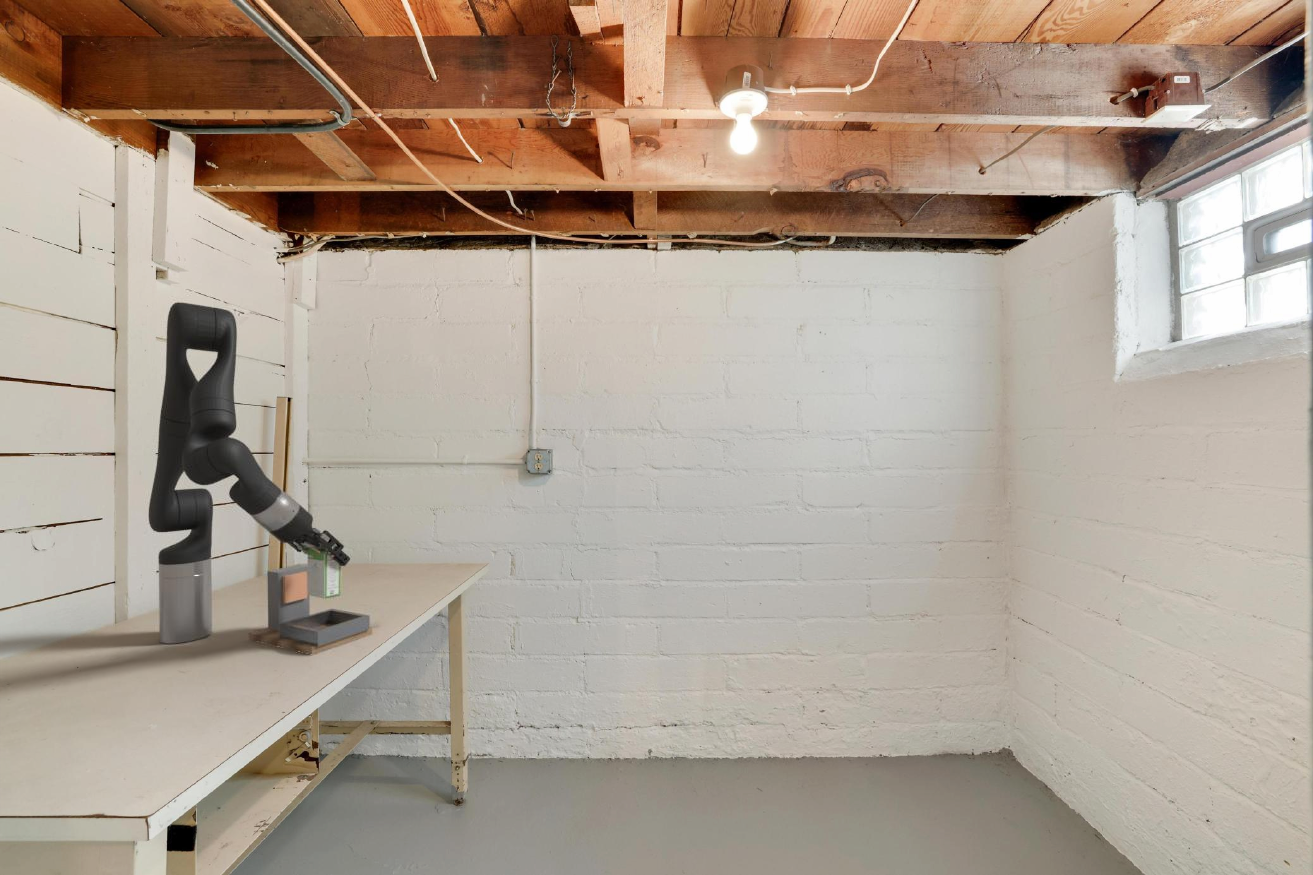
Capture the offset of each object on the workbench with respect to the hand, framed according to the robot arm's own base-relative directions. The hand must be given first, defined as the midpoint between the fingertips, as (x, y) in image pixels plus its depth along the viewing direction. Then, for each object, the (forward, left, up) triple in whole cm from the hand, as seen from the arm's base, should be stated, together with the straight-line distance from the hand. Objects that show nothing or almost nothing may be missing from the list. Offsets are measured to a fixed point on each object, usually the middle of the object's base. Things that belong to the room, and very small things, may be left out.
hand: (335, 561), depth 130 cm
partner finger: (-13, -2, -15) cm, 20 cm away
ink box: (0, -2, -7) cm, 8 cm away
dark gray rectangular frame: (-3, -2, -15) cm, 16 cm away
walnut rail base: (-5, -2, -17) cm, 18 cm away
